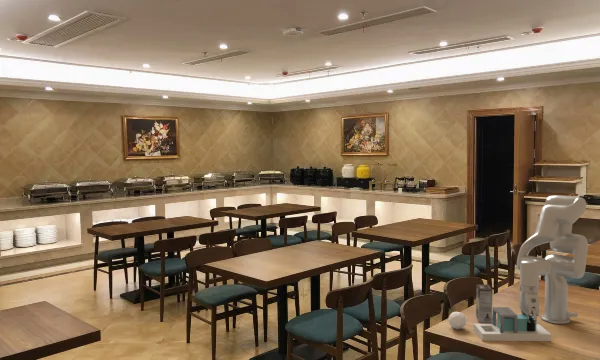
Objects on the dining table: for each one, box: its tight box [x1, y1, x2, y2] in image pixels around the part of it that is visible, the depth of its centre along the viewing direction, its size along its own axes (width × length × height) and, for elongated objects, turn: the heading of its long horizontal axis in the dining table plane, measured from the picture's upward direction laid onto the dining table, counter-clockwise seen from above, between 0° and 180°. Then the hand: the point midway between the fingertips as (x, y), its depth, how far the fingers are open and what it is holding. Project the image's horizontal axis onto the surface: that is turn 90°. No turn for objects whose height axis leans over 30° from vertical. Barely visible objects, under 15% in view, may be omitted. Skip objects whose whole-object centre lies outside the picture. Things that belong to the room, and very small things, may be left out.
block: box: [496, 314, 538, 331], centre depth 214 cm, size 15×5×6 cm, turn 87°
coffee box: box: [475, 284, 493, 324], centre depth 234 cm, size 9×6×16 cm
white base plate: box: [473, 323, 552, 342], centre depth 214 cm, size 29×12×3 cm, turn 87°
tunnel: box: [491, 306, 518, 333], centre depth 214 cm, size 7×10×8 cm
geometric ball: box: [447, 311, 467, 330], centre depth 223 cm, size 8×8×8 cm
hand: (528, 328), depth 214 cm, fingers closed on block, 5 cm apart
